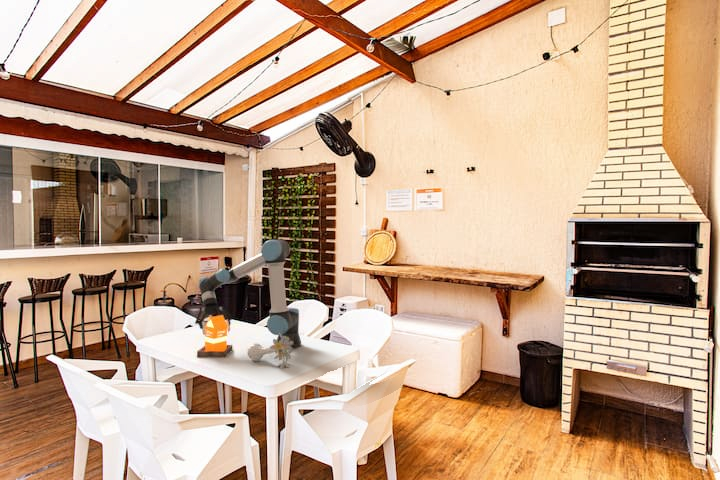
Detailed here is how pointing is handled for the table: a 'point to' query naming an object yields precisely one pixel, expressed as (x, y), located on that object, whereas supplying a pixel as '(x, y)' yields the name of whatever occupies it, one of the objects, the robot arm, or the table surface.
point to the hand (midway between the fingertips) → (217, 331)
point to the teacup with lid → (206, 320)
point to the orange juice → (216, 334)
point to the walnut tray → (214, 352)
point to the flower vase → (273, 350)
